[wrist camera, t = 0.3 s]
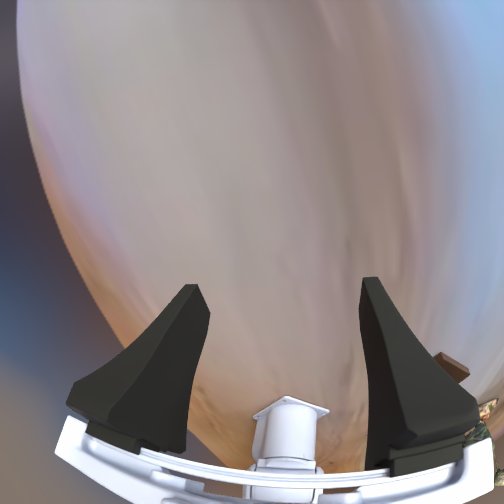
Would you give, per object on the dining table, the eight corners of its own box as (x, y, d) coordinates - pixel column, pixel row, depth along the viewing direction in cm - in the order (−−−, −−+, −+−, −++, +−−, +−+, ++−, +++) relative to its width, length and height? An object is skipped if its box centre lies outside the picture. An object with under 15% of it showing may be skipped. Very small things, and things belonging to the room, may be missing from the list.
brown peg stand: (422, 400, 32) (429, 433, 26) (389, 389, 31) (394, 427, 25) (468, 368, 27) (479, 402, 22) (440, 351, 26) (453, 392, 21)
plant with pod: (460, 409, 33) (475, 499, 16) (502, 393, 30) (522, 473, 13) (446, 426, 37) (456, 506, 20) (487, 412, 34) (502, 485, 17)
